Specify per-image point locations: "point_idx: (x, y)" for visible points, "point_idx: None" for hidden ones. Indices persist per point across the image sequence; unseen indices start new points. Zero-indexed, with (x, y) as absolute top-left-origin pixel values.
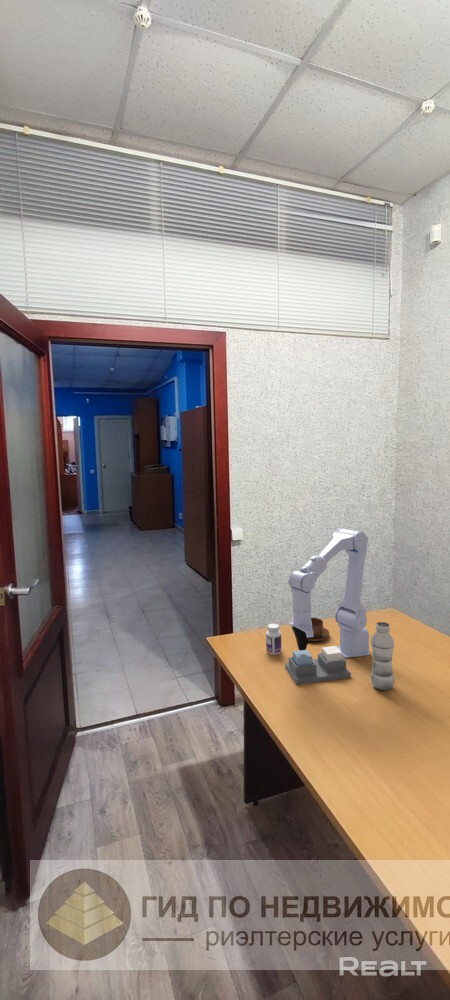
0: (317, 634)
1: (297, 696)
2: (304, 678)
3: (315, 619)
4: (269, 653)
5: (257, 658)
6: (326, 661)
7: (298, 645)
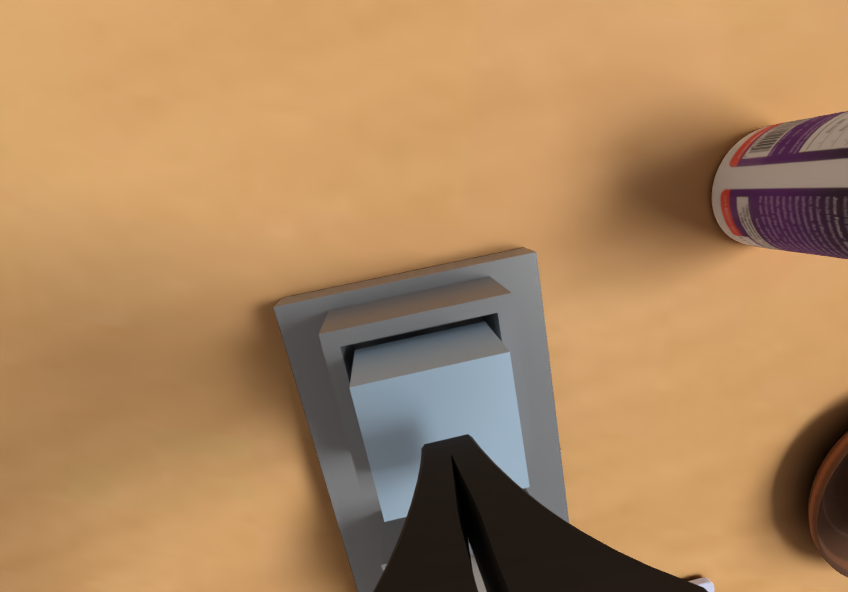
0: None
1: (128, 286)
2: (300, 366)
3: None
4: (734, 145)
5: (688, 33)
6: None
7: (437, 470)
